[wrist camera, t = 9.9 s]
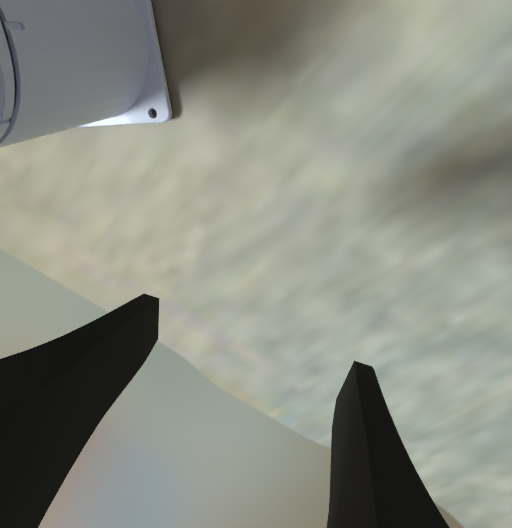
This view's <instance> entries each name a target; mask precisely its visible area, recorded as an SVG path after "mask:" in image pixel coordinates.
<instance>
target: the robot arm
mask: <svg viewBox="0 0 512 528" xmlns="http://www.w3.org/2000/svg"><path fill="white" fill-rule="evenodd" d="M152 108H153V109H155V110H156V112H157V116H156V117H154V116H153V115H152ZM171 117H172V109H171V104H170V99H169V93H168V88H167V83H166V78H165V72H164V67H163V62H162V56H161V51H160V46H159V41H158V35H157V30H156V25H155V20H154V14H153V9H152V4H151V0H0V147H3V146H7V145H10V144H14V143H18V142H22V141H25V140H29V139H33V138H37V137H40V136H44V135H48V134H52V133H55V132H59V131H63V130H67V129H70V128H79V127H96V126H113V125H130V124H146V123H163V122H166V121H169V120H170V119H171ZM158 321H159V298H156V297H153V296H150V295H147V294H142V295H141V296H139V297H137V298H135V299H133V300H131V301H129V302H128V303H126V304H124V305H122V306H120V307H119V308H117V309H115V310H113V311H111V312H109V313H108V314H106V315H104V316H102V317H100V318H98V319H96V320H94V321H92V322H90V323H88V324H86V325H84V326H82V327H80V328H78V329H76V330H74V331H72V332H70V333H68V334H66V335H64V336H61V337H59V338H56V339H54V340H52V341H49V342H47V343H44V344H42V345H39V346H37V347H34V348H32V349H29V350H26V351H23V352H21V353H17V354H14V355H11V356H8V357H5V358H2V359H0V528H38V526H39V525H40V523H41V521H42V519H43V517H44V515H45V513H46V511H47V510H48V508H49V506H50V504H51V502H52V501H53V499H54V497H55V495H56V494H57V492H58V490H59V488H60V487H61V485H62V483H63V481H64V479H65V478H66V476H67V474H68V473H69V471H70V469H71V468H72V466H73V464H74V462H75V461H76V459H77V457H78V456H79V454H80V452H81V451H82V449H83V448H84V446H85V444H86V443H87V441H88V439H89V438H90V436H91V435H92V433H93V432H94V430H95V428H96V427H97V425H98V424H99V422H100V421H101V419H102V418H103V416H104V415H105V414H106V412H107V411H108V410H109V408H110V407H111V406H112V404H113V403H114V402H115V400H116V399H117V398H118V397H119V395H120V394H121V393H122V391H123V390H124V389H125V387H126V386H127V385H128V383H129V382H130V381H131V380H132V378H133V377H134V376H135V374H136V373H137V371H138V370H139V369H140V368H141V366H142V365H143V363H144V362H145V360H146V359H147V357H148V355H149V354H150V352H151V350H152V349H153V347H154V345H155V343H156V341H157V340H158ZM327 528H449V526H448V525H447V523H446V522H445V520H444V518H443V517H442V515H441V514H440V512H439V510H438V509H437V507H436V505H435V504H434V502H433V500H432V499H431V497H430V495H429V493H428V492H427V490H426V488H425V486H424V484H423V483H422V481H421V479H420V477H419V475H418V473H417V471H416V470H415V468H414V466H413V464H412V462H411V460H410V458H409V455H408V453H407V451H406V449H405V447H404V445H403V443H402V441H401V438H400V436H399V434H398V432H397V429H396V427H395V425H394V422H393V420H392V417H391V415H390V413H389V410H388V408H387V405H386V402H385V400H384V397H383V394H382V391H381V389H380V386H379V383H378V380H377V377H376V374H375V371H374V369H373V367H372V366H369V365H365V364H362V363H359V362H356V361H354V363H353V365H352V367H351V369H350V371H349V373H348V375H347V378H346V380H345V382H344V384H343V386H342V388H341V390H340V392H339V394H338V397H337V399H336V405H335V411H334V418H333V425H332V445H331V477H330V502H329V514H328V522H327Z"/></svg>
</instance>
